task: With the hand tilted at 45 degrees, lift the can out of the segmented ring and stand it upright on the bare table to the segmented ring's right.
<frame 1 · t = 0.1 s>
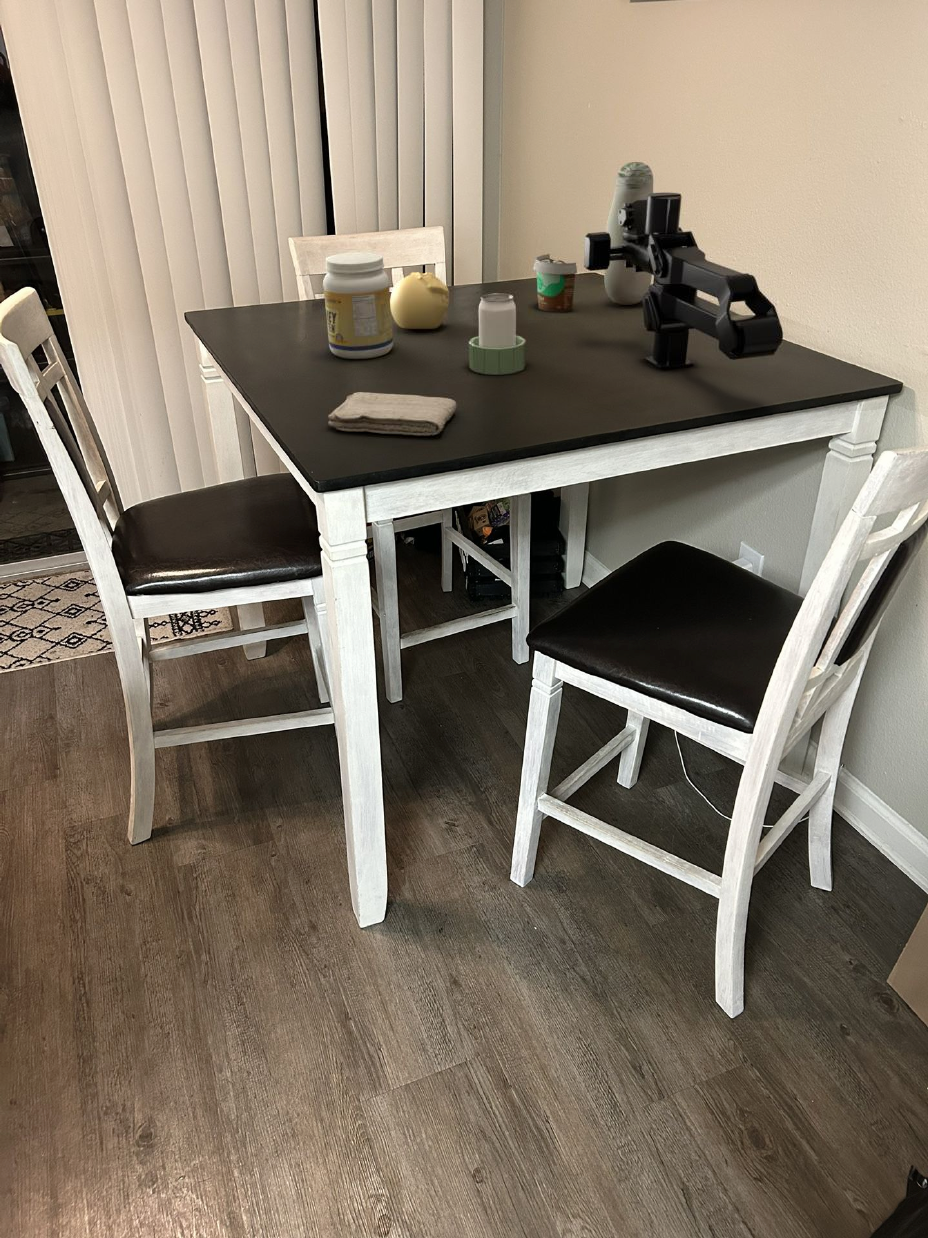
hand: (614, 240, 175), 17 cm above the table, tool horizontal, fingers open, 9 cm apart
can: (497, 367, 164), resting in segmented ring
segmented ring: (497, 366, 164), on the table
washcloth: (394, 423, 141), on the table
sculpture: (421, 328, 189), on the table
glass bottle: (626, 304, 201), on the table
supplement tub: (362, 352, 174), on the table
food container: (548, 308, 200), on the table
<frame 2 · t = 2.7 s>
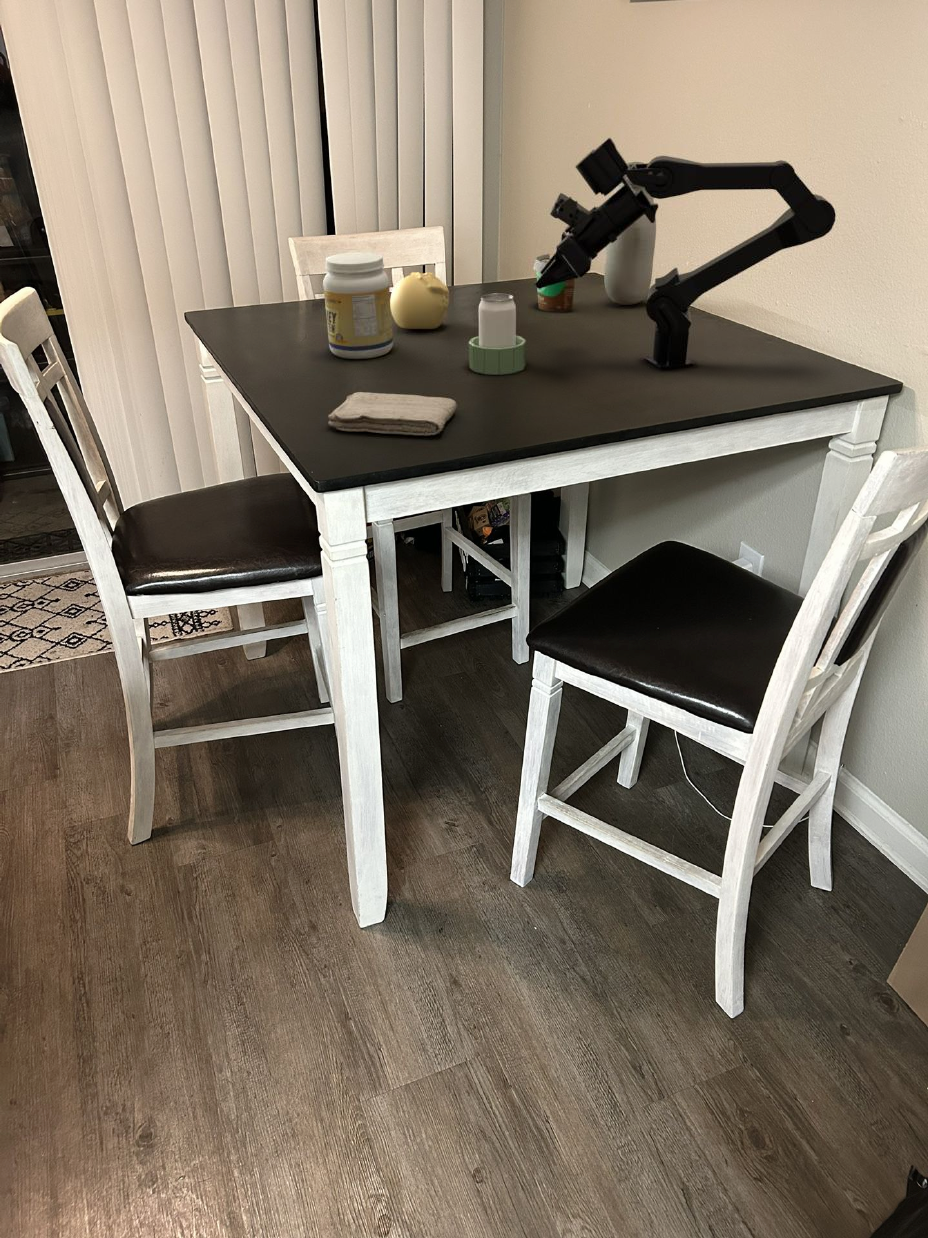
hand: (539, 280, 159), 14 cm above the table, tool tilted 50°, fingers open, 9 cm apart
nothing on the table moved.
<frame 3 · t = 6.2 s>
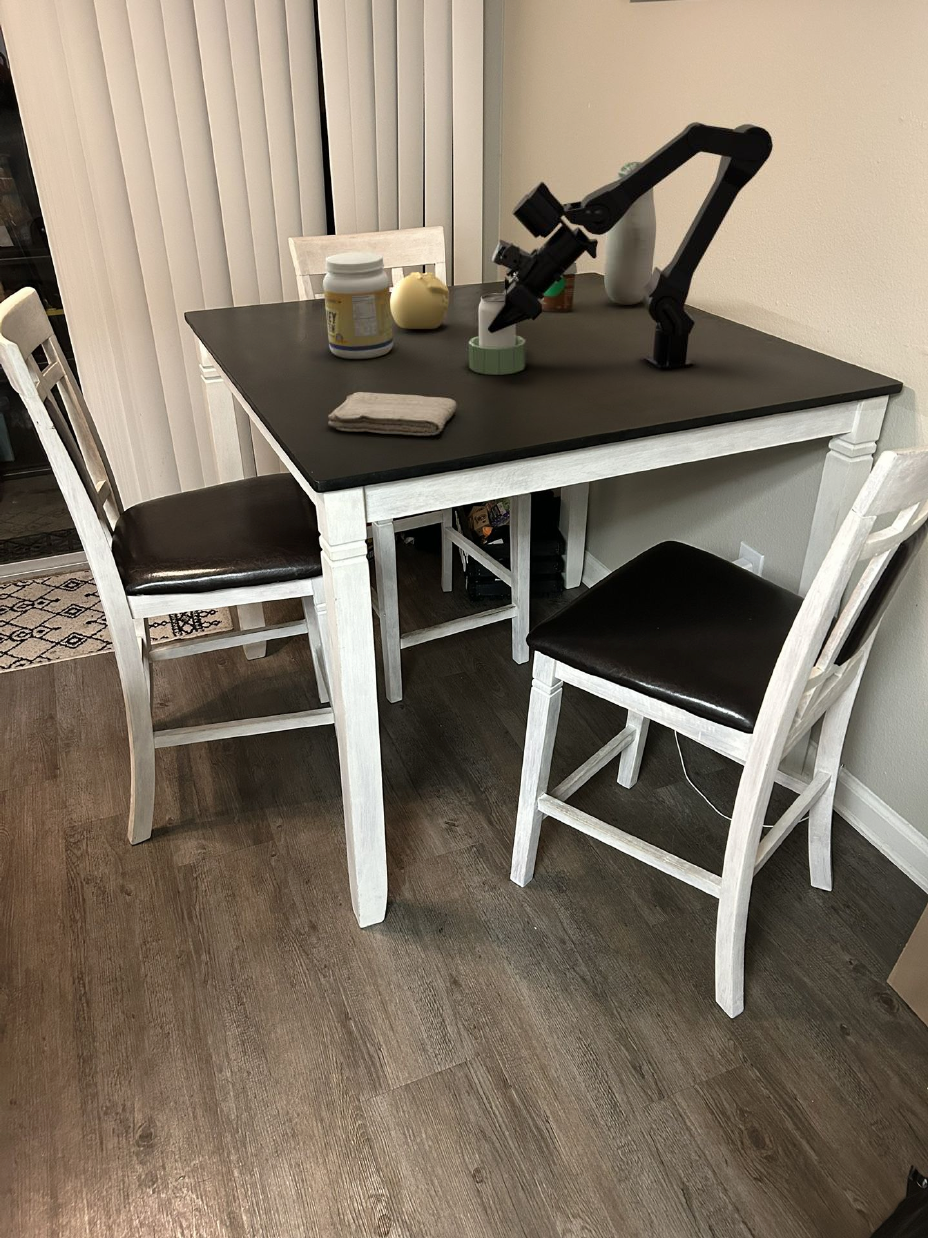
hand: (489, 326, 160), 7 cm above the table, tool tilted 45°, fingers closed on can, 6 cm apart
can: (497, 367, 164), resting in segmented ring, touching gripper
everything else where it was.
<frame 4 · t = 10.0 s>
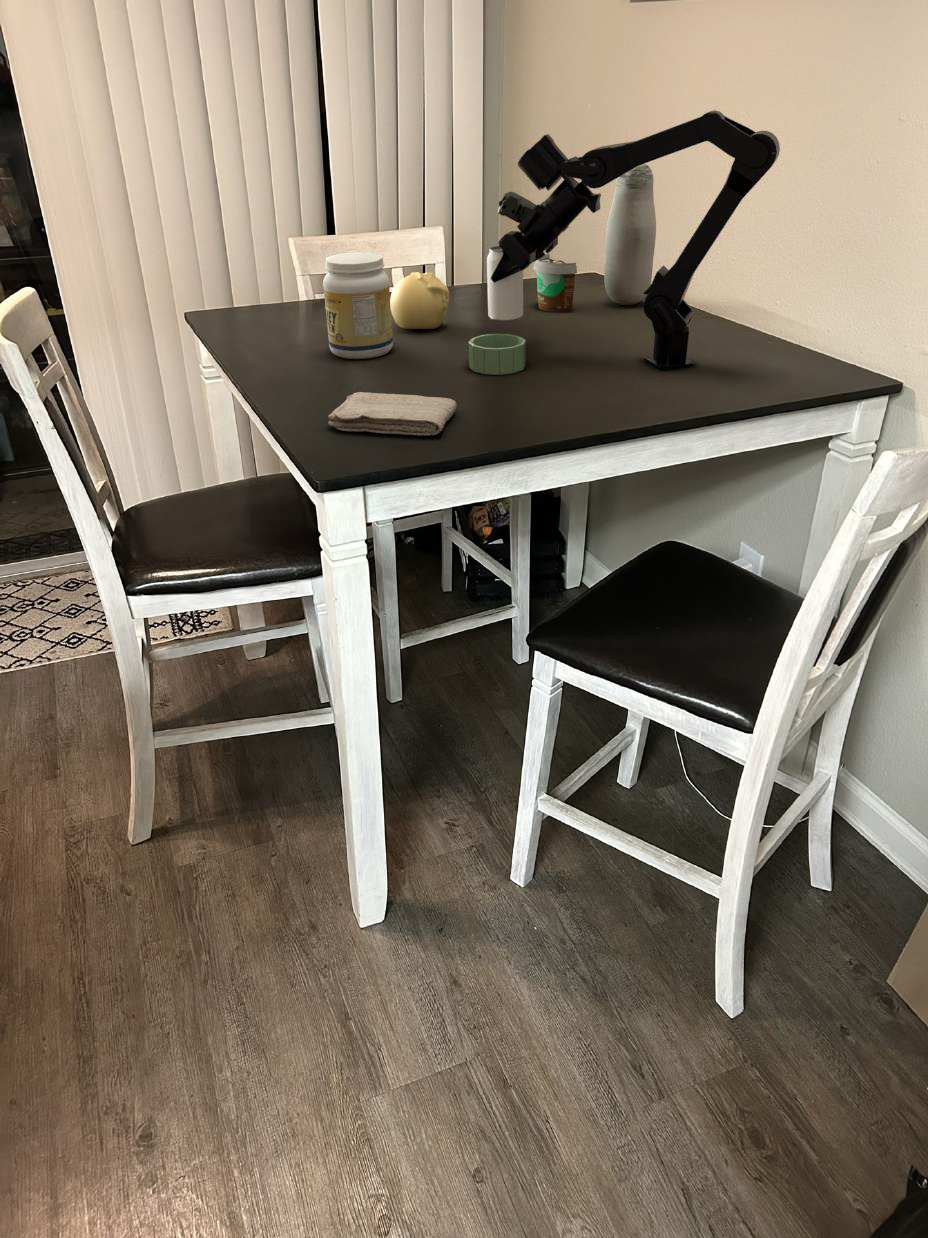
hand: (498, 276, 166), 13 cm above the table, tool tilted 45°, fingers closed on can, 6 cm apart
can: (505, 318, 169), point 6 cm above the table, touching gripper
everything else where it was.
when the fingers open (7 cm above the table, at t = 14.0 s): can stays where it is, on the table.
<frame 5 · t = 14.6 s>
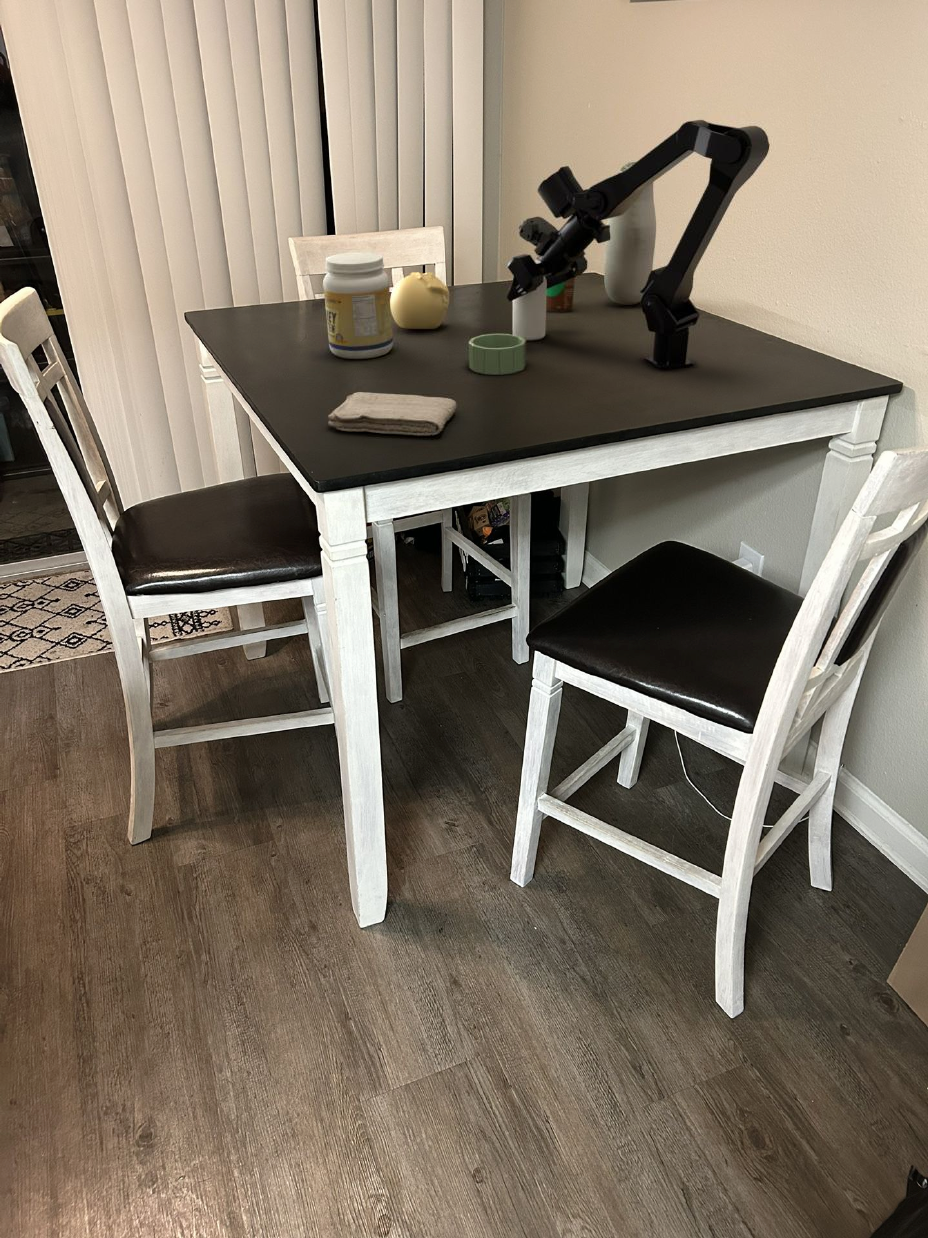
hand: (523, 294, 177), 8 cm above the table, tool tilted 45°, fingers open, 9 cm apart
can: (528, 337, 180), on the table
everything else where it was.
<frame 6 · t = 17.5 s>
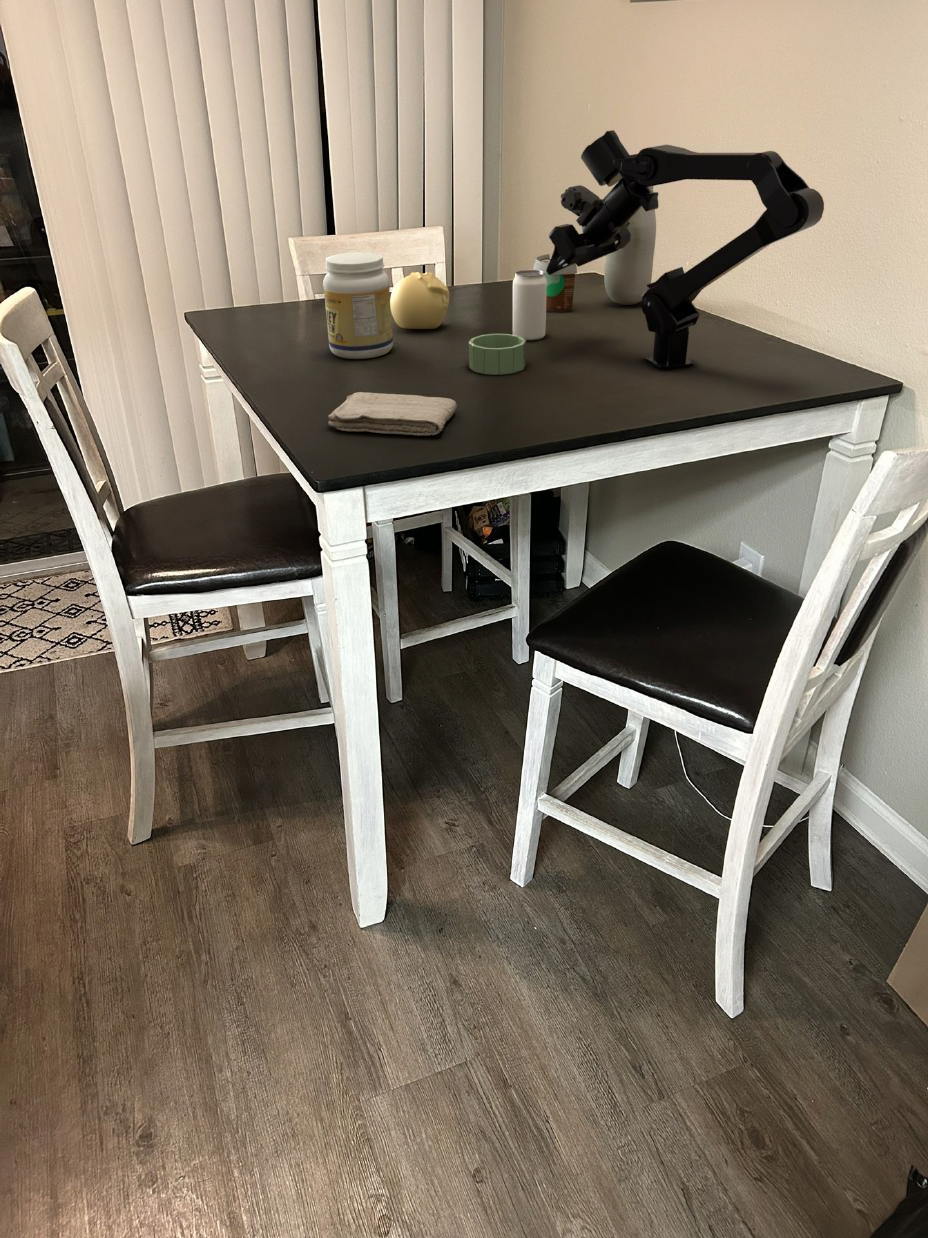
hand: (562, 268, 169), 14 cm above the table, tool tilted 45°, fingers open, 9 cm apart
nothing on the table moved.
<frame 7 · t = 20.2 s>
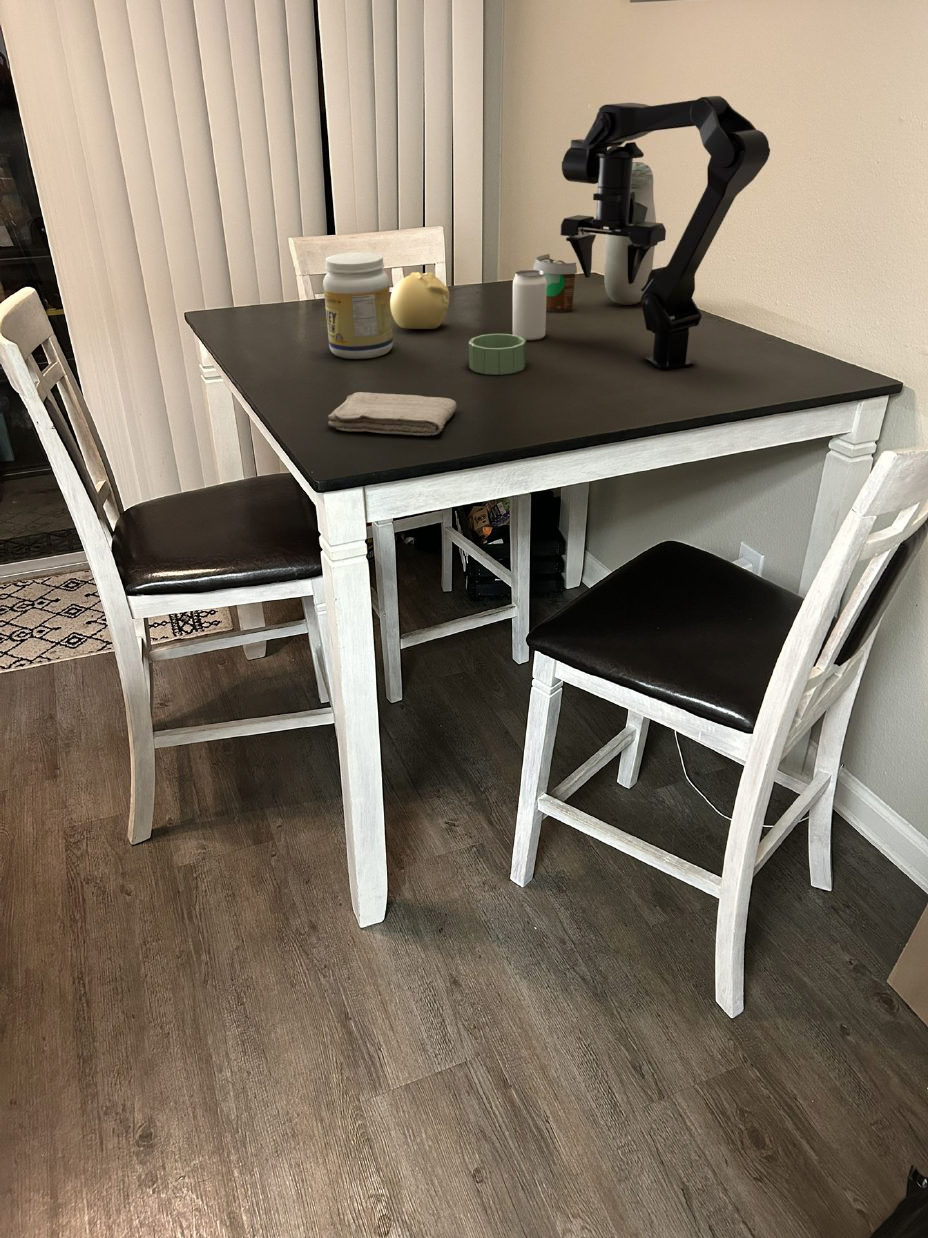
hand: (609, 280, 167), 12 cm above the table, tool pointing down, fingers open, 9 cm apart
nothing on the table moved.
at the end: can inside the target area (0.1 cm from its centre), on the table; can tilted 0°; the gripper is holding nothing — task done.
